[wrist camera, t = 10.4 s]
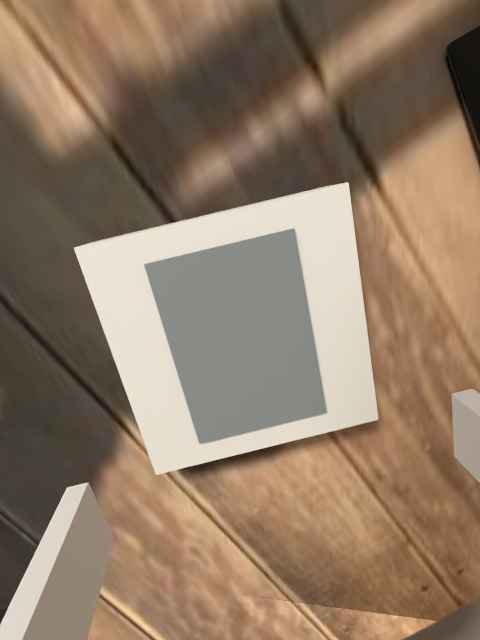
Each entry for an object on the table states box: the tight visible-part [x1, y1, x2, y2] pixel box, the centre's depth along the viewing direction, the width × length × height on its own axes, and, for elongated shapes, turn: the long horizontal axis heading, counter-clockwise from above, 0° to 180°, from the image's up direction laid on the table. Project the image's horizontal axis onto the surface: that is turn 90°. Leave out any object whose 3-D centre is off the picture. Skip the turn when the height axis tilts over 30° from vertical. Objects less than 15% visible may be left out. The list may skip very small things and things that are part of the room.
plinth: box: [74, 183, 378, 475], centre depth 28 cm, size 18×18×4 cm
